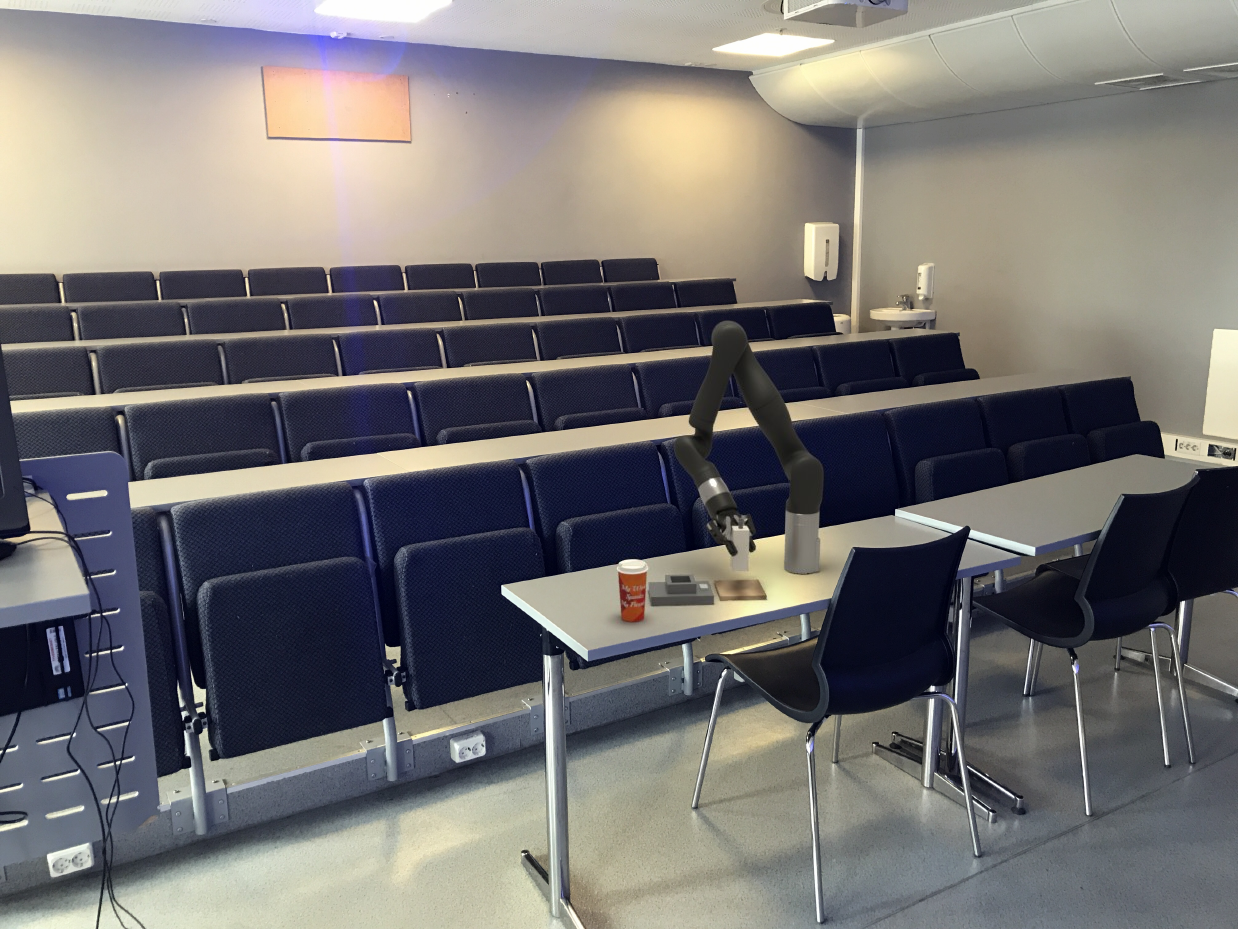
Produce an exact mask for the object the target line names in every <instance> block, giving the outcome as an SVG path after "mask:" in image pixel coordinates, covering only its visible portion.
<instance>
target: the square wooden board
mask: <svg viewBox="0 0 1238 929" xmlns="http://www.w3.org/2000/svg"><path fill="white" fill-rule="evenodd" d="M713 584H714V588H715V591H716V593H717V596H718V598H719V601H720V602H723V601H728V600H732V601H761V600H762V601H767V600H768V596H767V593H766V591H765V589H764V588H763V585H762V584H761V581H760V580H759V578H758V579H721V580H720V579H718V580H715V579H714V580H713Z"/></svg>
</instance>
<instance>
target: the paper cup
mask: <svg viewBox="0 0 1238 929" xmlns="http://www.w3.org/2000/svg"><path fill="white" fill-rule="evenodd" d="M617 564H618V566H617V567H616V571H617V573H618V575H617V576H618V586H619V587H618V589H619V590H618V592H619V602H620V605H619V606H620V615H621V620H623V621H625V622H629V623H637V622H640V621H641V622H642V621H643V620H644V619H645V610H646V593H647V575H648V570H649V569H650V568H649V566H648V564H647V563H646V562H645V561H643V560H641V559H635V558H634V559H625V560H622V561H620V562H619V563H617Z"/></svg>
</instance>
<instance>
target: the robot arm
mask: <svg viewBox="0 0 1238 929" xmlns="http://www.w3.org/2000/svg"><path fill="white" fill-rule="evenodd" d="M747 336H748V335H747V334H746V331H745V329H744V328H743V327H742V326H741V324H739V323H737V322H736V321H733V320H722V321H721V322H719V323H717V324H716V325H715V326H714V328H713V329H712V333H711V340H710V341H711V345H712V351H711V357H710V362H709V366H708V370H707V371H706V375H705V377H704V379H703V381H702V384H701V385H700V388H699V390H698V392H697V395H696V397H695V400H694V403H693V404H692V405H693V406H692V407H691V408H692V409H691V411H690V413H689V417H688V425H689V426H690V427H691V428H693V429H694V435H685V434H684V435H680V436H678V437H677V438H676V439H675V441H674V444H673V451H674V452H673V453H674V455H675V457H676V459H677V461H678V462H679V464H680V465H681V467H682V468H683V469H684V470H685V471H686V473H688V475H689V476H690V477H691V478H692V479H693V482H694V484H695V486H696V489H697V491H698V492H699V496H700V499H701V501H702V503H703V505H704V507H705V508H706V510H707V513H708V515H709V517H710V518H711V520H710V521H708V523H707V524H706V525H705V529H706V530H707V531H708V532H709V534H710V536H711V537H712V538H713V540H714V541H715V543H717V544H718V545H719V544H723V545H724V546H725V548H726V550H727V552H728V554H729V555H730V557H731V556H732V557H733V556H736V555H737V554H738V551H737V549H736V547H735V545H734V543H733V541H731V533H732V526H738V520H739V518H742V519H743V526H747V527H748V529H749V530H750V531H749V554H751V553H752V554H753V553H754V552H755V551H756V550H757V545H756V544H755V542H754V539H753V538H752V537H753V536H754V535H755V534H756V533H757V531H756V527H755V525H754V521H753V518H752V515H751V514H750V513H747V514H746V515H743V514H740V513H739V511H738V507H737V503H736V502H735V499H734V498H733V496H732V494H731V492H730V490H729V488H728V486H727V484H726V483H725V482H724V480H723V479H722V477H721V475H720V472H719V471H718V469H717V467H716V466H715V464H714V463H713V462H711V461H709V460H706V459H708V456H710V453H711V451H712V447H713V446H712V445H713V438H714V424H715V423H716V420H717V416H718V414H719V411H720V408H721V405H722V403H723V402H722V401H723V398H724V396H725V393H726V389H727V386H728V383H729V381H730V378H731V376H732V374H733V376H734V379H735V380H736V383H737V386H738V389H739V391H740V394H741V395H742V398H743V401H744V403H745V405H746V406H747V408H748V410H749V412H750V413H751V415H752V417H753V419H754V420H755V422H756V424H757V425H758V427H759V429H760V430H761V432H762V433H763V434H764V436H765V437H766V439H767V440H768V441H769V443H770V444H771V445H772V447H773V449H774V451H775V454H776V455H777V458H778V460H779V461H780V464H781V466H782V469H783V472H784V474H785V476H786V478H787V479H788V480H789V495H788V496H789V497H788V499H786V501H785V522H784V523H785V525H784V526H785V527H784V530H785V531H784V555H783V556H784V557H783V558H784V559H783V568H784V570H785V571H786V572H789V573H792V574H797V573H798V574H799V575H806V574H807V573H809V574H813V573H820V561H821V558H820V557H821V556H820V555H821V538H820V537H819V531H820V527H819V526H820V509H821V508H820V506H821V504H822V501H823V493H824V492H823V491H824V477H825V476H824V467H823V464H822V463H821V461H820V460H819V459H818V458H816V457H815V456H814V455H812V454H811V453H810V452H809V451H808V449H807V448H806V447H805V445H804V443H803V442H802V441H801V439H800V437H799V436H798V434H797V432H796V430H795V428H794V424H793V421H792V418H791V413H790V412H789V408H788V407H787V404H786V403H785V400H784V399H783V398H782V395H781V394H780V392H779V391H778V388H777V387H776V385H775V384H774V382H773V381H772V380H771V378H770V377H769V375H768V374H767V373H766V371H765V370H764V368H763V367H762V366H761V365H760V363H759V362H758V360H757V358H756V356H755V355H754V352H753V349H752V348H751V346H750V344H749V341H748V337H747ZM807 575H808V574H807Z"/></svg>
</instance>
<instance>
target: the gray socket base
mask: <svg viewBox="0 0 1238 929" xmlns="http://www.w3.org/2000/svg"><path fill="white" fill-rule="evenodd" d="M664 579H665V580H664V581H649V582H648V595H649V600H650V605H651V606H652V607H660V606H661V607H662V606H663V607H664V606H665V607H666V606H702V605H703V606H707V605H711V606H712V605H714V604H715V594H714V592H713V589H712V586H711V584H710V580H696V579H695V576H694V574H693V573H690V574H689V573H687V574H685V573H684V574H682V573H681V574H665V575H664ZM651 606H650V607H651Z"/></svg>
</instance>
